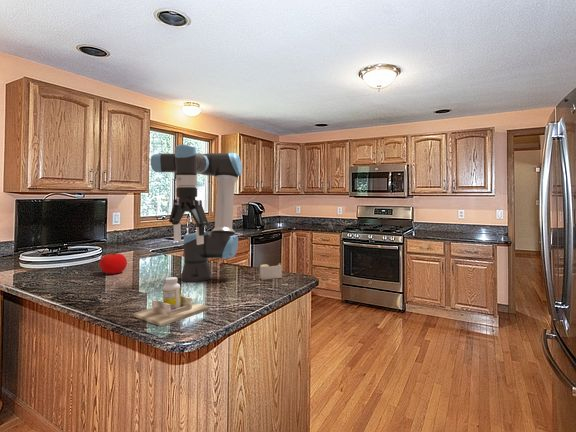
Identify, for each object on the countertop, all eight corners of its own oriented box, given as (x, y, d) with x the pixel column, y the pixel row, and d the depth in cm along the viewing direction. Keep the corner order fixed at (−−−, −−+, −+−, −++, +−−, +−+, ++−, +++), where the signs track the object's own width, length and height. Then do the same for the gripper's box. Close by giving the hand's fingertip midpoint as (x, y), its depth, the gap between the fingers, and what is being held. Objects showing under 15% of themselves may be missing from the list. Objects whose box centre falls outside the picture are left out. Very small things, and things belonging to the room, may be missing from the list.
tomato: (131, 272, 185) (131, 252, 185) (108, 277, 174) (107, 255, 174) (119, 269, 192) (118, 250, 191) (95, 274, 181) (94, 253, 180)
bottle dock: (133, 316, 117) (132, 302, 117) (181, 301, 134) (181, 289, 133) (160, 326, 108) (160, 311, 108) (208, 309, 124) (208, 295, 124)
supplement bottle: (173, 306, 125) (172, 275, 125) (184, 308, 122) (183, 277, 122) (159, 310, 120) (159, 278, 120) (170, 313, 117) (170, 280, 116)
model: (260, 279, 171) (260, 264, 171) (279, 277, 175) (279, 262, 175) (262, 280, 168) (262, 265, 168) (282, 278, 172) (281, 263, 172)
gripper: (158, 186, 132) (160, 240, 134) (200, 186, 117) (202, 247, 119) (174, 186, 138) (176, 238, 140) (217, 186, 123) (218, 244, 125)
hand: (188, 242), depth 129 cm, fingers open, 13 cm apart
